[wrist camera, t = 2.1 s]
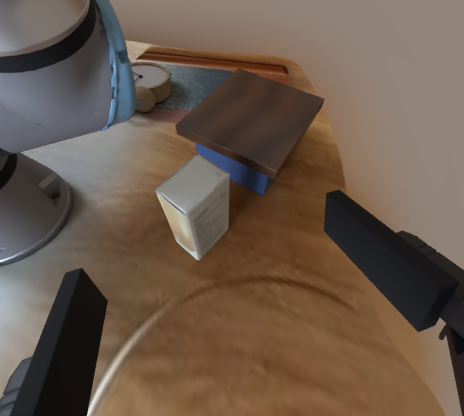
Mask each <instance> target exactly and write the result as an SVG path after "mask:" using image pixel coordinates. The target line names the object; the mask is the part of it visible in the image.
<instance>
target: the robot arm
mask: <svg viewBox="0 0 464 416" xmlns="http://www.w3.org/2000/svg"><path fill="white" fill-rule="evenodd" d="M136 103H137V97H136V87H135V80H134V75H133V70H132V66H131V62H130V60H129V58H128V53H127V47H126V43H125V39H124V36H123V33H122V30H121V27H120V24H119V21H118V19H117V16H116V14H115V12H114V9H113V7H112V5H111V3H110V1H109V0H0V266H3V265H7V264H10V263H13V262H16V261H19V260H21V259H23V258H25V257H27V256H29V255H31V254H33V253H35V252H36V251H38V250H39V249H41V248H42V247H43V246H45V245H46V244H47V243H48V242H49V241H51V240H52V239H53V238H54V237H55V236H56V235H57V234H58V232H59V231H60V230H61V229H62V227H63V226H64V224H65V223H66V221H67V219H68V217H69V215H70V212H71V209H72V193H71V190H70V188H69V186H68V185H67V184H66V182H65V181H64V180H63V179H62V178H61V177H60V176H59V175H58V174H57V173H55V172H54V171H53V170H51V169H50V168H48V167H46V166H44V165H42V164H40V163H39V162H37V161H35V160H33V159H31V158H29V157H27V156H26V155H24V154H22V153H20V152H23V151H26V150H30V149H34V148H37V147H41V146H45V145H48V144H52V143H56V142H60V141H63V140H67V139H71V138H74V137H78V136H82V135H86V134H89V133H93V132H97V131H100V130H101V131H103V130H106V129H108V128H109V127H110V126H113V125H115V124H118V123H121V122H124V121H127V120H128V119H130V118H131V117H132V116H133V114H134V112H135V109H136ZM324 231H325V232H326V234H327V235H328V236H329V237H330V238H331V239H332V240H333V241H334V242H335V243H336V244H337V245H338V246H339V248H340V249H341V250H342V251H343V252H344V253H345V254H346V255H347V256H348V257H349V258H350V259H351V260H352V262H353V263H354V264H355V265H356V266H357V267H358V268H359V269H360V270H361V271H362V272H363V273H364V274H365V276H366V277H368V279H369V280H370V281H371V282H372V283H373V284H374V285H375V286H376V287H377V288H378V289H379V291H380V292H381V293H382V294H383V295H384V296H385V297H386V298H387V299H388V300H389V301H390V302H391V303H392V304H393V306H394V307H395V308H396V309H397V310H398V311H399V312H400V313H401V314H402V315H403V316H404V317H405V319H407V321H408V322H409V323H410V324H411V325H412V326H413V327H414V328H415V329H416V330H417V331H418V332H420V331H423V330H425V329H428V328H430V327H432V326H435V324H436V323H437V321H438V319H439V318H441V319H442V320H443V321H444V322H446V325H445V326H444V328H443V329H442V331H441V333H440V335H439V339H440V340H443V339H444V337H445V335H446V336H447V340H448V346H449V351H450V356H451V360H452V366H453V370H454V376H455V381H456V385H457V391H458V396H459V401H460V406H461V411H462V415H463V416H464V270H463V269H461V268H460V267H458V266H457V265H456V264H454V263H453V262H452V261H450V260H449V259H447V258H446V257H445V256H443V255H442V254H440V253H439V252H436V250H435V249H433V248H432V247H431V246H428V245H427V244H426V243H425V242H423V241H422V240H421V239H419V238H418V237H417V236H415V235H412V234H410V233H407V232H405V231H400V232H398V233H395V232H394V231H393V230H391V229H390V228H389V227H387V226H386V225H385V224H383V223H382V222H381V221H379V220H378V219H377V218H376V217H374V216H373V215H372V214H370V213H369V212H368V211H366V210H365V209H364V208H362V207H361V206H360V205H359V204H357V203H356V202H355V201H353V200H352V199H351V198H349V197H348V196H347V195H345V194H344V193H343V192H342V191H340V190H336V191H332V192H329V193H326V207H325V222H324ZM107 302H108V301H107V299H106V298H105V297H104V296H103V294H102V293H101V292H100V290H99V289H98V288H97V287H96V285H95V284H94V283H93V282H92V280H91V279H90V278H89V277H88V275H87V274H86V273H85V271H84V270H83V269H82V268H80V269H77V270H73V271H70V272H67V273H65V275H64V278H63V281H62V283H61V286H60V288H59V291H58V293H57V296H56V298H55V301H54V303H53V306H52V309H51V311H50V314H49V316H48V319H47V321H46V324H45V326H44V329H43V331H42V334H41V336H40V339H39V342H38V344H37V347H36V349H35V352H34V354H33V357H30V358H27V359H24V360H22V361H21V363H20V364H19V366H18V367H17V368H16V370H15V371H14V372H13V374H12V375H11V376H10V379H9V381H8V383H7V386H6V388H5V390H4V393H3V394H4V395H3V397H1V399H0V416H87V412H88V407H89V401H90V396H91V390H92V385H93V379H94V374H95V368H96V363H97V357H98V352H99V346H100V341H101V335H102V330H103V324H104V319H105V313H106V308H107Z"/></svg>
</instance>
